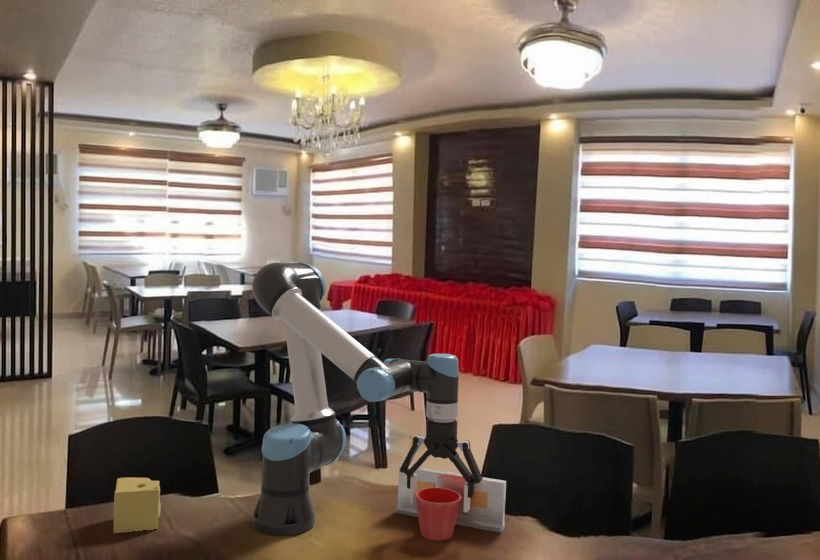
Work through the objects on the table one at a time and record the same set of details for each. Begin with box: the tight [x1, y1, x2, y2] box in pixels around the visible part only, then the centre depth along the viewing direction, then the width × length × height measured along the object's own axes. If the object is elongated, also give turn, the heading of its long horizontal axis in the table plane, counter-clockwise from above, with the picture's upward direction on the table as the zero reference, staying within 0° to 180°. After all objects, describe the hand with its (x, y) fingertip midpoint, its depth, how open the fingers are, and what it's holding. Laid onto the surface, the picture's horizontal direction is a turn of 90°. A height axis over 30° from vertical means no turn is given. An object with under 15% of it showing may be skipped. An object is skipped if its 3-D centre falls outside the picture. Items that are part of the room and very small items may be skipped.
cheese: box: [113, 477, 162, 534], centre depth 163 cm, size 10×11×10 cm
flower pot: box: [416, 487, 461, 541], centre depth 164 cm, size 11×11×10 cm
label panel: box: [395, 464, 507, 533], centre depth 173 cm, size 28×4×12 cm, turn 69°
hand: (439, 506), depth 164 cm, fingers open, 13 cm apart
